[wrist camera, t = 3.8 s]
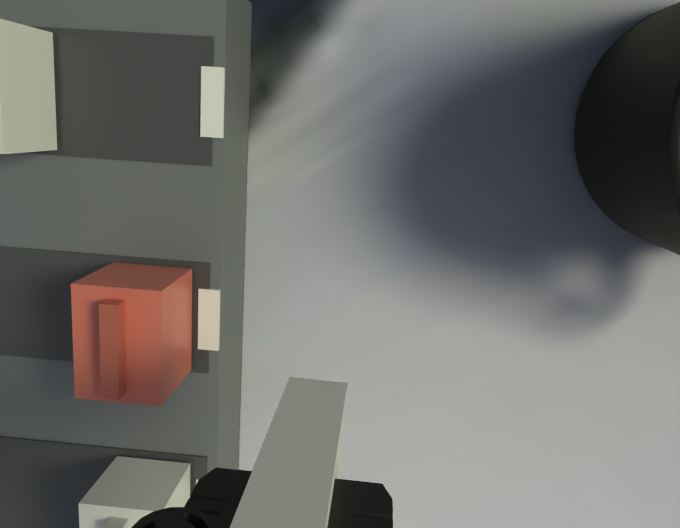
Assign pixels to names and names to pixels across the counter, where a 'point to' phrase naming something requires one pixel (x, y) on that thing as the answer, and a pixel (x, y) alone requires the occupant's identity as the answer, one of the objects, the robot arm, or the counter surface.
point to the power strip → (123, 239)
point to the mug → (636, 130)
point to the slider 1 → (26, 89)
